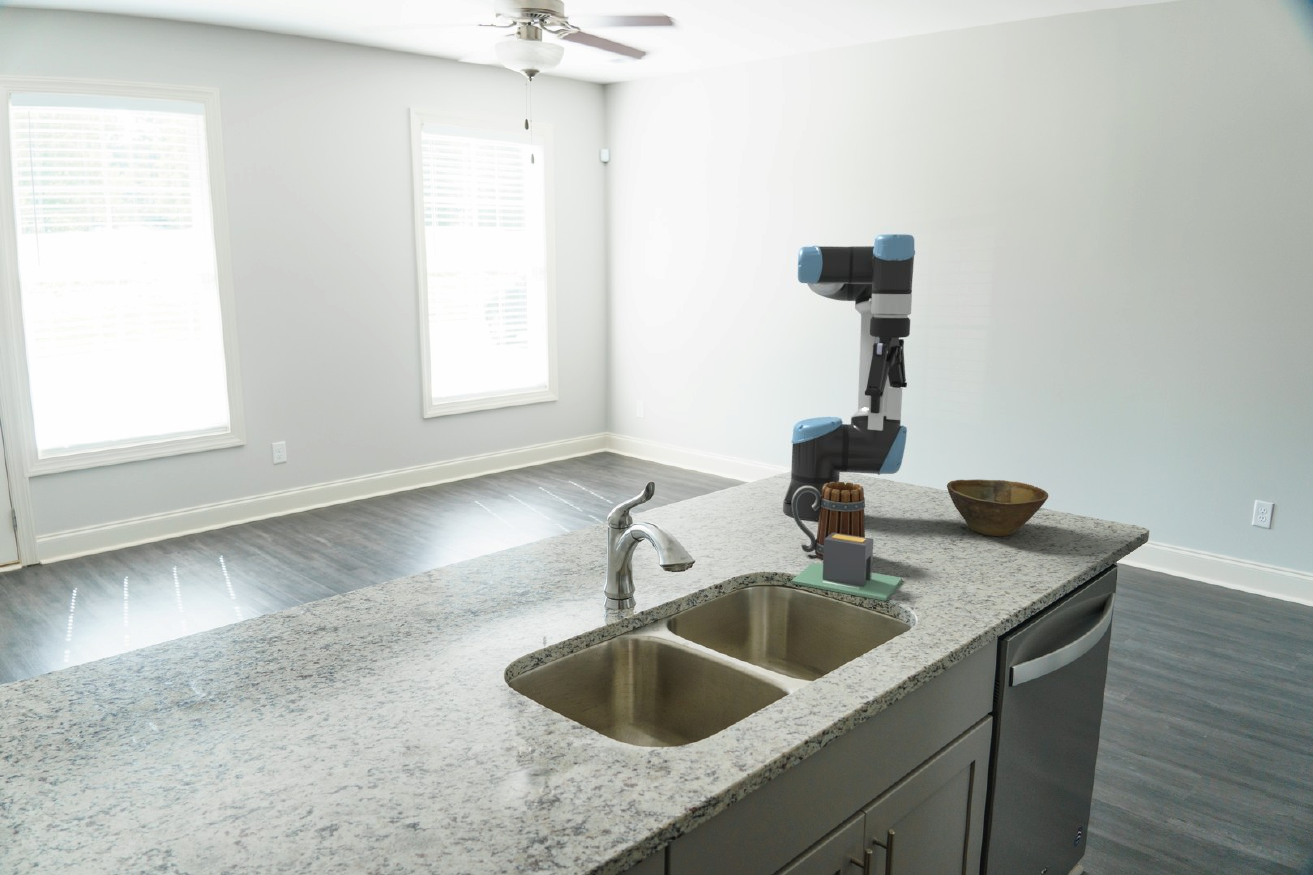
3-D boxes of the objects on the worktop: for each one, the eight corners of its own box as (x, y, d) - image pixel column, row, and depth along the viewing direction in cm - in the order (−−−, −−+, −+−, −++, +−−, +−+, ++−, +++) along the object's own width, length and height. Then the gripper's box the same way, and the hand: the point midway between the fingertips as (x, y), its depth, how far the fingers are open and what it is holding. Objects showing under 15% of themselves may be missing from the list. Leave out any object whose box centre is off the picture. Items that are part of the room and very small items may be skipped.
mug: (861, 548, 190) (864, 480, 187) (869, 564, 179) (873, 493, 177) (788, 546, 191) (790, 479, 188) (792, 562, 180) (794, 491, 178)
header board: (812, 565, 179) (813, 543, 178) (901, 580, 170) (903, 557, 169) (791, 583, 169) (792, 560, 168) (885, 600, 160) (886, 576, 159)
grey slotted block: (831, 571, 173) (832, 531, 172) (871, 578, 170) (873, 537, 168) (822, 579, 169) (824, 538, 168) (863, 586, 165) (865, 544, 164)
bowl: (1053, 526, 207) (1056, 484, 205) (1035, 552, 188) (1039, 506, 186) (957, 512, 218) (960, 472, 217) (931, 535, 199) (934, 492, 198)
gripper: (888, 312, 184) (882, 413, 188) (852, 318, 162) (847, 432, 166) (924, 314, 180) (918, 416, 184) (893, 320, 159) (886, 436, 163)
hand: (884, 424), depth 175 cm, fingers open, 13 cm apart
